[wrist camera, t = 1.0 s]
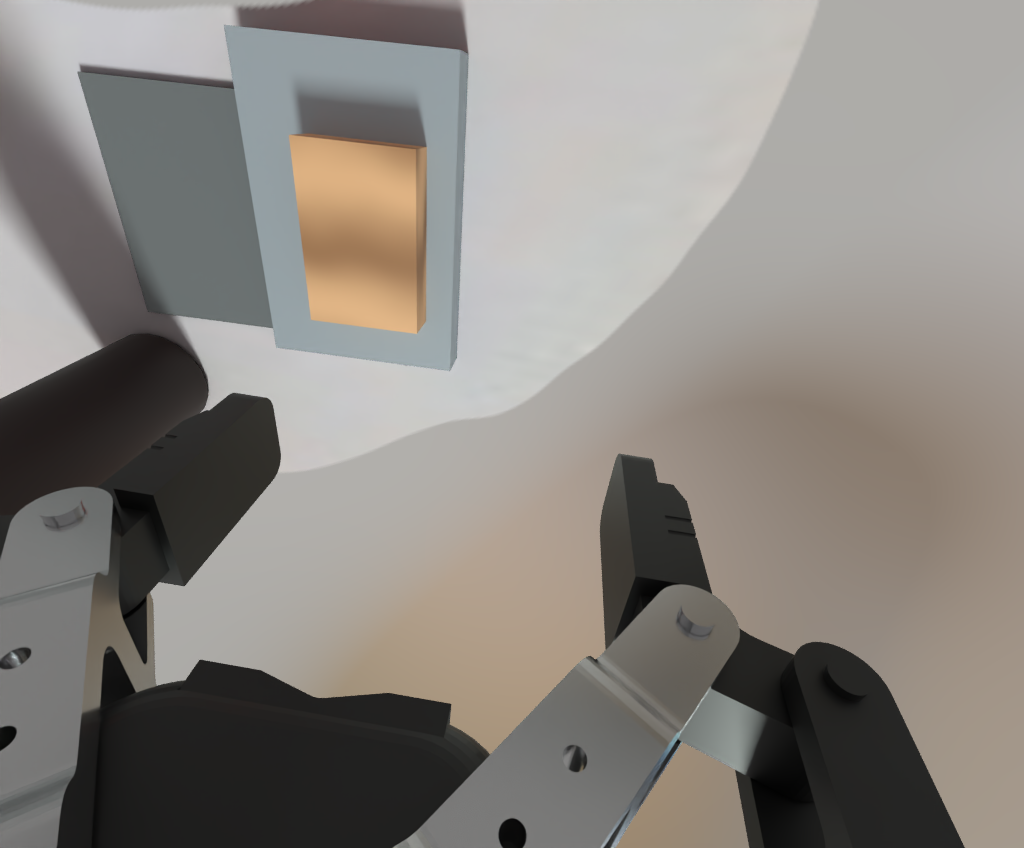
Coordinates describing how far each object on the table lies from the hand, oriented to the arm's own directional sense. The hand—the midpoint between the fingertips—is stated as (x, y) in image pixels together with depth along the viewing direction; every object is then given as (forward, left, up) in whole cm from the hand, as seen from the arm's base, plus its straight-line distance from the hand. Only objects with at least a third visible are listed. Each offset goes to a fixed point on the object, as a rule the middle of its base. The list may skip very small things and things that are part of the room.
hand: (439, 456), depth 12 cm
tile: (0, -8, -17) cm, 19 cm away
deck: (-1, -9, -20) cm, 22 cm away
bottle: (+12, -25, -20) cm, 34 cm away
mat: (0, -19, -20) cm, 28 cm away
